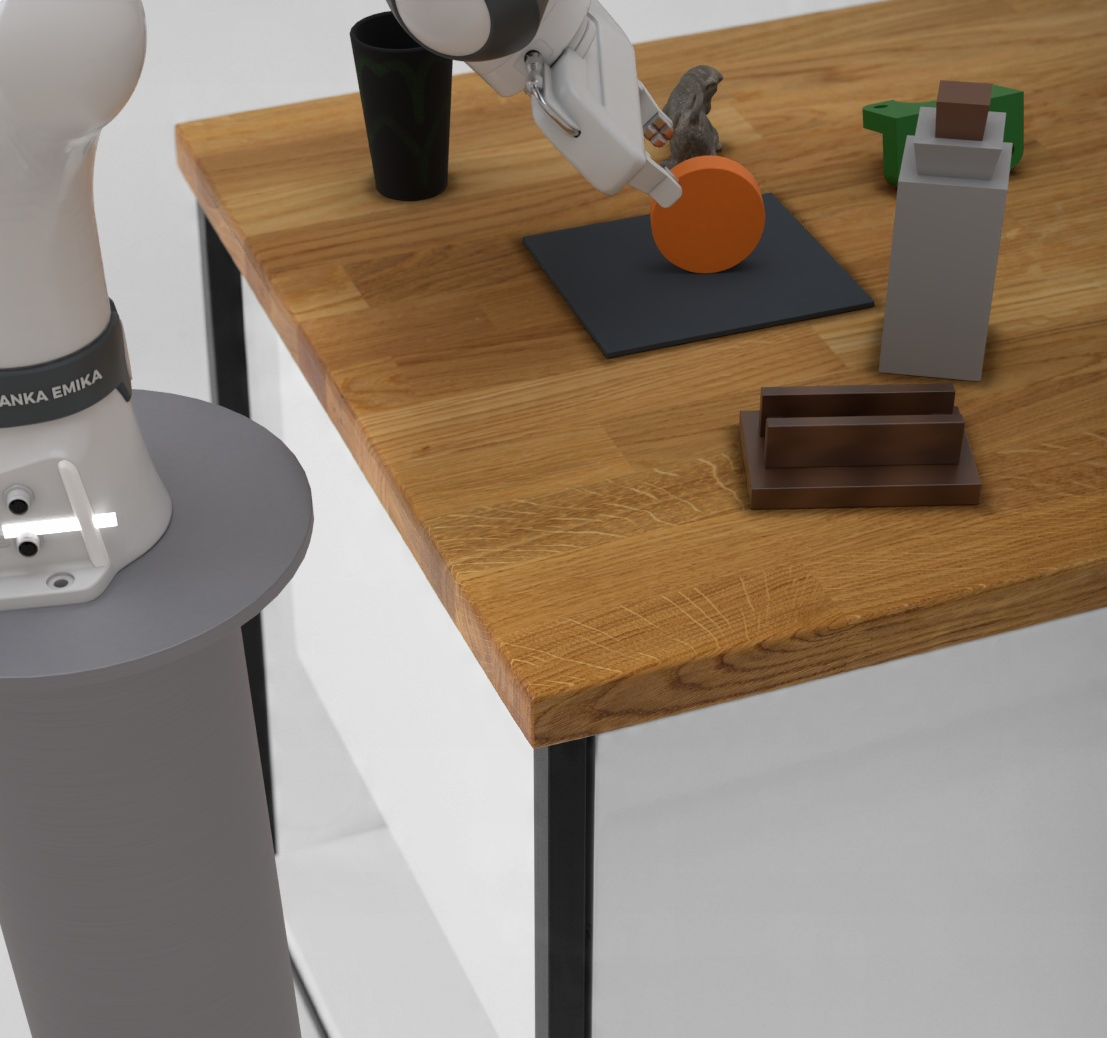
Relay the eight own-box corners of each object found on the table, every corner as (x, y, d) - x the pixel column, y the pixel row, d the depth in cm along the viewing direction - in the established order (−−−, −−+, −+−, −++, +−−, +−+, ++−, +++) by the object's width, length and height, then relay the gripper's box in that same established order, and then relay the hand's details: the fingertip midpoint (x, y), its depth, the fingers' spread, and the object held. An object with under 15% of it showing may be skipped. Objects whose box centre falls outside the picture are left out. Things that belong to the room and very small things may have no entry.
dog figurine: (733, 194, 157) (737, 100, 152) (657, 194, 158) (659, 100, 153) (729, 127, 166) (733, 35, 161) (658, 126, 166) (660, 35, 161)
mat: (607, 358, 140) (607, 353, 140) (522, 241, 152) (522, 236, 152) (874, 306, 144) (874, 301, 144) (770, 197, 157) (771, 192, 157)
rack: (750, 509, 126) (754, 446, 123) (738, 430, 133) (741, 368, 130) (978, 504, 126) (988, 441, 123) (955, 425, 133) (963, 364, 130)
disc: (641, 265, 147) (663, 159, 142) (640, 252, 148) (662, 146, 143) (750, 281, 148) (777, 177, 143) (748, 267, 149) (774, 164, 144)
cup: (477, 172, 161) (471, 18, 153) (433, 213, 156) (425, 57, 148) (390, 155, 163) (379, 3, 155) (344, 196, 158) (330, 41, 150)
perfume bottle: (985, 331, 142) (1022, 74, 129) (980, 381, 137) (1017, 119, 125) (887, 322, 143) (914, 66, 131) (878, 372, 138) (905, 111, 126)
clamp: (960, 203, 165) (997, 86, 162) (1002, 216, 160) (1041, 96, 157) (837, 169, 160) (873, 48, 157) (876, 182, 155) (915, 57, 152)
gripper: (563, 55, 127) (715, 203, 133) (558, -63, 142) (694, 75, 149) (493, 127, 130) (645, 267, 136) (495, 4, 145) (631, 136, 152)
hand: (670, 166), depth 143 cm, fingers open, 8 cm apart
